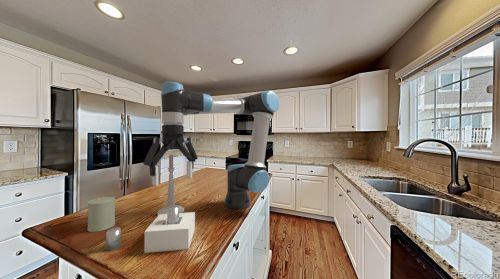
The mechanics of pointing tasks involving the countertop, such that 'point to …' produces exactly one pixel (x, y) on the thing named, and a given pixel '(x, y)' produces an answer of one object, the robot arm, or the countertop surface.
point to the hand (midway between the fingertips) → (173, 181)
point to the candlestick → (170, 190)
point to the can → (101, 214)
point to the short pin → (113, 238)
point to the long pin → (173, 215)
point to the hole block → (170, 233)
